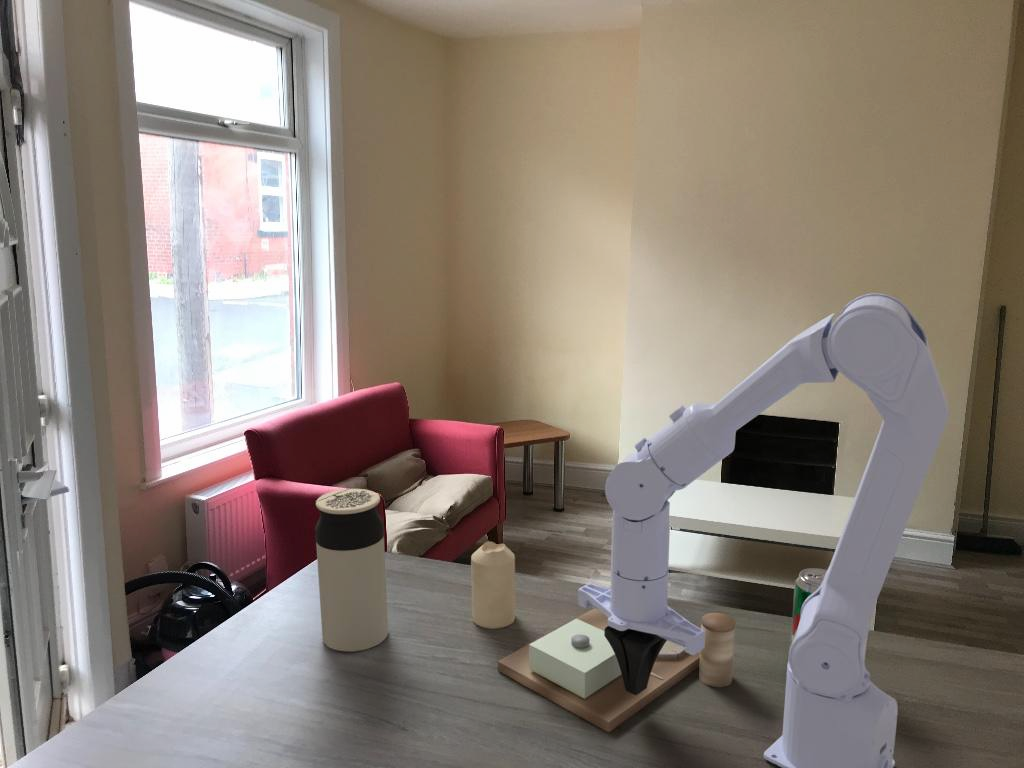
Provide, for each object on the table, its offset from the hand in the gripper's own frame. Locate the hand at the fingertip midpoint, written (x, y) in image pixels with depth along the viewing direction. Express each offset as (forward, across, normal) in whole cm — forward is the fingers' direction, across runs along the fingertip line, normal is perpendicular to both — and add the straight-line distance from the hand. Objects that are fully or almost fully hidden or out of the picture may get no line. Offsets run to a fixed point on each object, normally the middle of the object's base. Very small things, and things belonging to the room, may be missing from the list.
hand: (636, 689), depth 86 cm
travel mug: (+3, -34, -12) cm, 36 cm away
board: (+2, -8, +5) cm, 9 cm away
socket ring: (+1, -5, +11) cm, 12 cm away
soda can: (+3, +10, +19) cm, 22 cm away
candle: (+3, -25, +3) cm, 25 cm away
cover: (+1, -8, 0) cm, 8 cm away
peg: (+2, +3, +11) cm, 12 cm away
